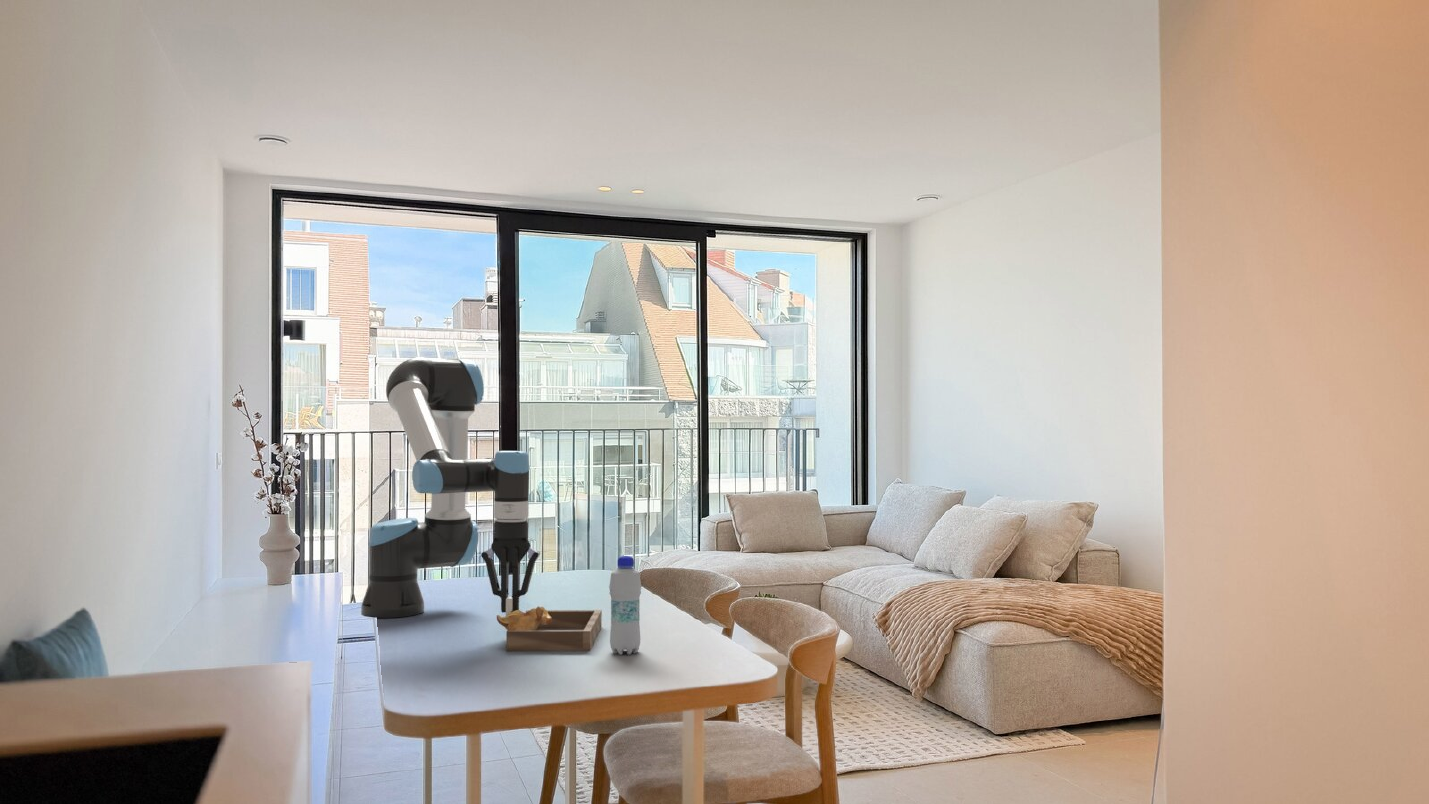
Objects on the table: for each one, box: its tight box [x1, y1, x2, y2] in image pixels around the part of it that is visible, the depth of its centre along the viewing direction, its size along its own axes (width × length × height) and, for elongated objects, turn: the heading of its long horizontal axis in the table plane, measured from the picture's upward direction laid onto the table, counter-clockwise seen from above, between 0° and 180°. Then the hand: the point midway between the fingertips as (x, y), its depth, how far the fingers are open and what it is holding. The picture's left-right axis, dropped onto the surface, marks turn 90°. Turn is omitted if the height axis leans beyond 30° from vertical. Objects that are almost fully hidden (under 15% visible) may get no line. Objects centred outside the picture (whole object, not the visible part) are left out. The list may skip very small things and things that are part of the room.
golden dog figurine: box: [496, 605, 552, 632], centre depth 213 cm, size 12×10×8 cm
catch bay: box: [505, 609, 603, 652], centre depth 217 cm, size 24×18×4 cm
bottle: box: [608, 555, 642, 656], centre depth 204 cm, size 7×7×20 cm
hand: (509, 627), depth 217 cm, fingers closed
